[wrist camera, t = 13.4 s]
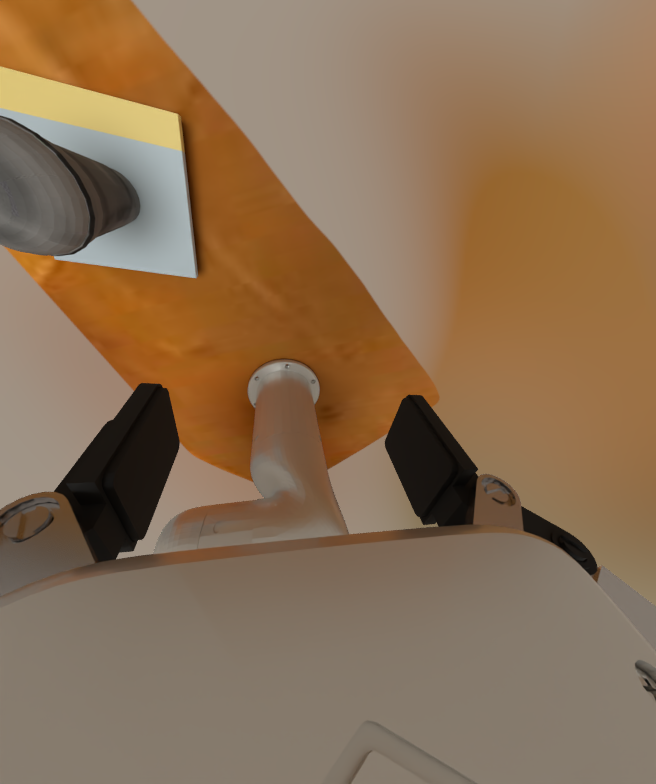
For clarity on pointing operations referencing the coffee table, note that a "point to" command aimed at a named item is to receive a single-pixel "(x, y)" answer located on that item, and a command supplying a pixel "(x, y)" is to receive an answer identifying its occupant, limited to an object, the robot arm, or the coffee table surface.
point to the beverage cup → (56, 195)
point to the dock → (117, 166)
